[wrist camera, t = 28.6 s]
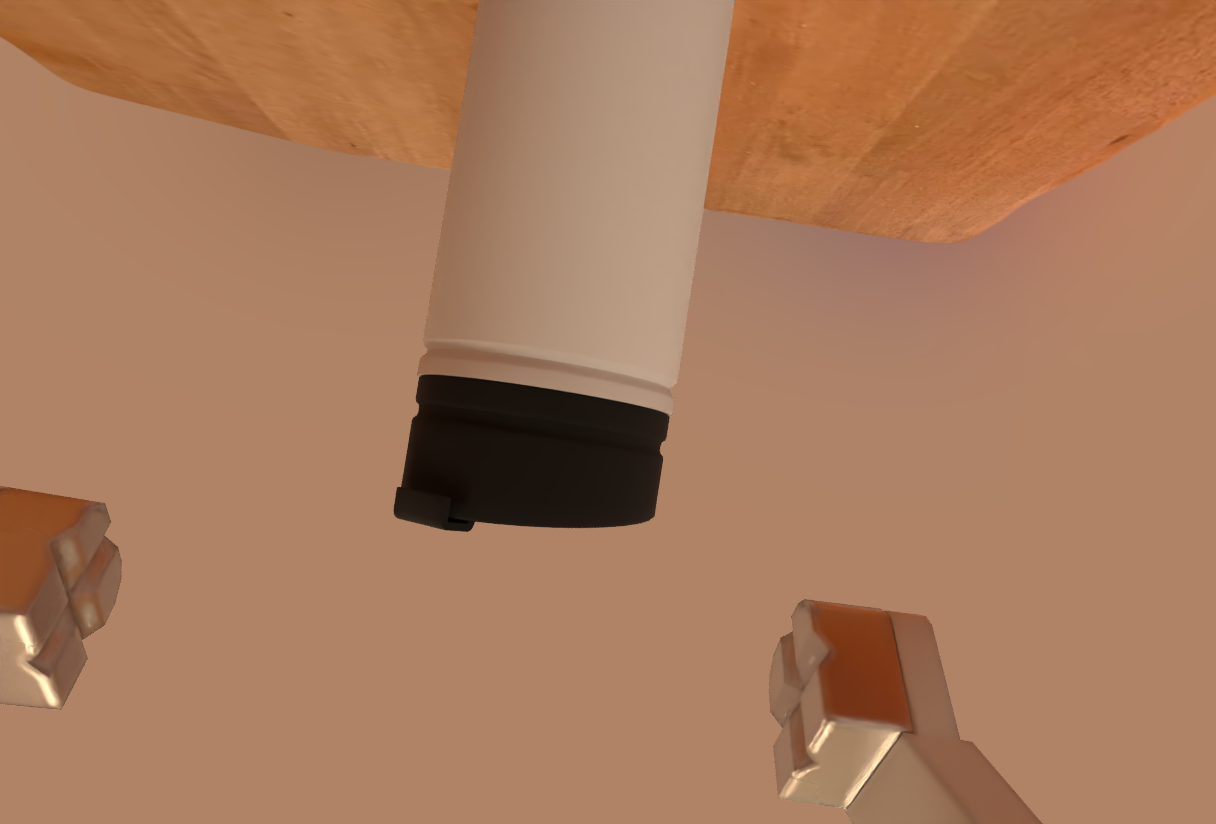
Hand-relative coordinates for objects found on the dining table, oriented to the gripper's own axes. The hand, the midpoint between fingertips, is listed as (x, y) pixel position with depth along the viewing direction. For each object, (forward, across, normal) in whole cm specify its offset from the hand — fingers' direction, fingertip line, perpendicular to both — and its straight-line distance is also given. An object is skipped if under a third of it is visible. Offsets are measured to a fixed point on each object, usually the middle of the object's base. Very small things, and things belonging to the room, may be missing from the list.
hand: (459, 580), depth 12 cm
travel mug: (+23, -1, -5) cm, 23 cm away
